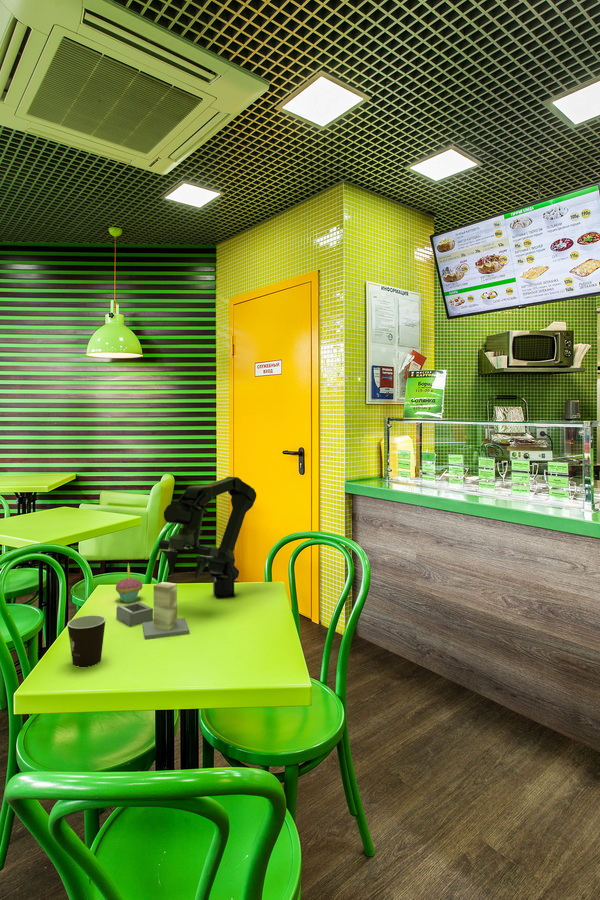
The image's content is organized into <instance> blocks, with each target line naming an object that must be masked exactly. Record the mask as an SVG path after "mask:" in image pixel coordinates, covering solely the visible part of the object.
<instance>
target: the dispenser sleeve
mask: <svg viewBox="0 0 600 900" xmlns="http://www.w3.org/2000/svg"><path fill="white" fill-rule="evenodd" d="M115 610H116V611H115V612H116V617H115V618H116V620H118V621H119V622H121V623H123V624H125V625H126V626H128V627H133V626H136V625H140V624H143V622H152V621H154V607H152V606H149V605H147V604H145V603H143V602H141V601H137V602H132V603H129V604H124V605H121V604H119V603H118V604H116V609H115Z"/></svg>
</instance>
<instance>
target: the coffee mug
mask: <svg viewBox="0 0 600 900" xmlns="http://www.w3.org/2000/svg"><path fill="white" fill-rule="evenodd" d="M105 628H106V617H105V616H102V615H97V614H96V615H94V614H93V615H92V614H90V615H83V616H82V615H81V616H78V617H75V618H73V619H71V620H69V621H67V631H68V639H69V645H70V653H71V660H72V666H74V665H75V666H79V667H86V668H89V667H88V666H91V667H93V666H92V665H94V666H96V665H98V664H99V663H100V662H101V661H102V654H103V646H104V637H105V636H104V635H105ZM98 662H99V663H98ZM97 663H98V664H97ZM95 664H96V665H95ZM75 666H74V667H75Z"/></svg>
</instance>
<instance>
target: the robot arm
mask: <svg viewBox="0 0 600 900" xmlns="http://www.w3.org/2000/svg"><path fill="white" fill-rule="evenodd" d="M225 493H228V495H230V503H231V507H232V509H231V511H230V515H229V518H228V521H227V524H226V527H225V529H224V533H223V535H222V539H221V542H220V544H219V547H217V546H209V545H201V543H200V542H199V541H200V536H201V535H202V534H203V530H202V529H201V528H202V523H203V516H204V514H208V513H209V511H208V510H207V508H206V505H207V504H209V503H210V502H212V500H213V498H214V497H216V496H219V495H221V494H225ZM256 500H257V492H256V490H255V488H253V487H252V486H251V485H249V484H248V483H246V482H244V481H243V480H242V479H241V478H240V477H237V476H227V477H224V478H222V479H220V480H217V481H213V482H210V483H207V484H205V485H189V486H187V487H186V488H185V491H184V492H183V494H182V495H181V496H180V498H179V499H178V500H173V499H172V500H171V501H170V504H168V505H167V506H166V507H165V509H164V510H163V518H164V520H165V522H166V523H169V524H176V525H182V527H179V529H178V532H177V533H175V534H173V535H171V536H169V537H168V539H161V540H160V541H159V542H158V545H157V549H159V550H160V552H161V553H163V554H164V555H165V557H166V560H167V565H168V566H167V567H168V572H169V574H170V575H173V574H174V571H175V568H176V564H177V559H178V555H179V551H186V552H192V553H196V554H198V555H196V560H197V563H196V569H195V575H194V579H196V580H197V579H199V577H200V576H201V574H202V573H203V570H204V569H205V567H206V566H207V568H208V571H209V575H210V577H211V578H214V580H213V581H212V593H213V596H214V597H215V598H216V599H225V598H234V597H236V594H235V581H236V580H237V579H238V578H239V576H240V575H239V574H240V571H239V569H238V568H237V567H236V565H235V563H236V558H235V554H234V553H235V551H234V550H235V546H236V544H237V542H238V538H239V534H240V531H241V528H242V525H243V522H244V520H245V516H246V514H247V512H248V511H249V510H251V509H252V507H253V506H254V504H255V501H256ZM177 550H179V551H177Z"/></svg>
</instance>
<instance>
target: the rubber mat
mask: <svg viewBox="0 0 600 900" xmlns="http://www.w3.org/2000/svg"><path fill="white" fill-rule="evenodd" d="M142 629H143V636H144V637H143V638H144V640H148V639H149V640H150V639H156V638H158V637H159V638H166V637H172V636H173V637H175V636H181V635H189V634H190V628H189V625H188V623H187V620H186V617H179V618H178V617H177V625H176V626H175V627H173V628H171V629H170V630H165V629H159V628H154V620H152V621H148V622H143V623H142Z"/></svg>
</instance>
